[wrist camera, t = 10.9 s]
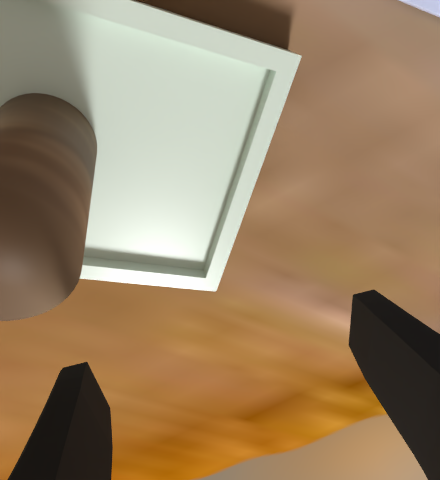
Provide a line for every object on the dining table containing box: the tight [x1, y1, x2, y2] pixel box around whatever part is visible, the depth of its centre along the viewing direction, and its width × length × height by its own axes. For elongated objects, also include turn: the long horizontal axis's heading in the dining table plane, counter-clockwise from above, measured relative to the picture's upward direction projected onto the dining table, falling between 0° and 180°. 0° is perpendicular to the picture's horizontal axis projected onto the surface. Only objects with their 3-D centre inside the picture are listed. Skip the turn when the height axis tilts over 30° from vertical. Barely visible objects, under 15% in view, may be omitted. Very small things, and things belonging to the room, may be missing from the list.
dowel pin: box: [0, 93, 97, 321], centre depth 13 cm, size 4×4×8 cm
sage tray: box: [0, 0, 302, 291], centre depth 16 cm, size 18×12×2 cm, turn 73°
